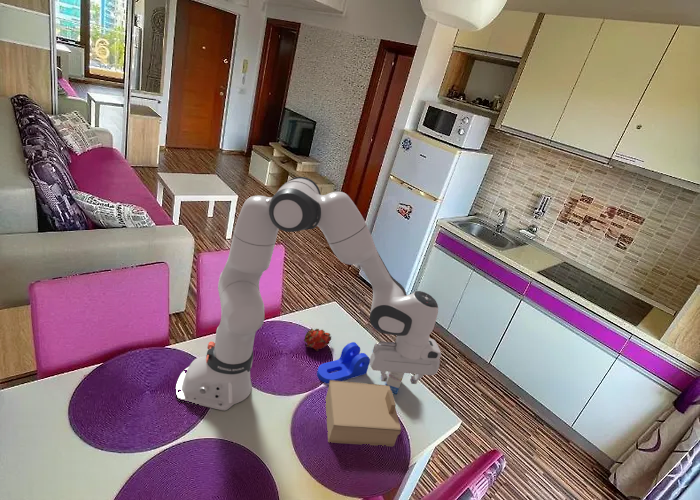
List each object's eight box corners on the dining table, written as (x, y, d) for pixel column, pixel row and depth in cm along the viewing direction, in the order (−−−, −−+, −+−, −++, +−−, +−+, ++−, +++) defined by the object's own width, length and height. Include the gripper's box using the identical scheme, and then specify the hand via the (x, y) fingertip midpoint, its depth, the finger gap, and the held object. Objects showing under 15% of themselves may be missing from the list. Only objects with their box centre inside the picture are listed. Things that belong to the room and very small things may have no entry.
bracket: (353, 359, 153) (359, 340, 149) (366, 374, 147) (372, 354, 144) (312, 370, 143) (317, 350, 139) (324, 386, 137) (329, 366, 133)
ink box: (397, 395, 141) (408, 362, 135) (383, 390, 141) (394, 357, 135) (399, 379, 148) (410, 347, 143) (386, 375, 149) (397, 343, 143)
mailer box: (328, 442, 117) (333, 425, 114) (325, 400, 131) (329, 384, 128) (393, 446, 121) (399, 429, 118) (383, 405, 135) (389, 389, 132)
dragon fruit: (298, 351, 152) (325, 350, 159) (309, 352, 146) (337, 351, 152) (298, 328, 154) (325, 328, 161) (310, 328, 147) (337, 328, 154)
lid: (332, 429, 114) (336, 416, 111) (328, 384, 129) (332, 371, 127) (399, 434, 117) (404, 421, 115) (387, 389, 133) (392, 377, 131)
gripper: (377, 348, 110) (366, 386, 116) (446, 355, 114) (432, 391, 119) (373, 334, 116) (363, 370, 121) (439, 340, 119) (426, 376, 125)
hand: (398, 381), depth 120 cm, fingers open, 8 cm apart
